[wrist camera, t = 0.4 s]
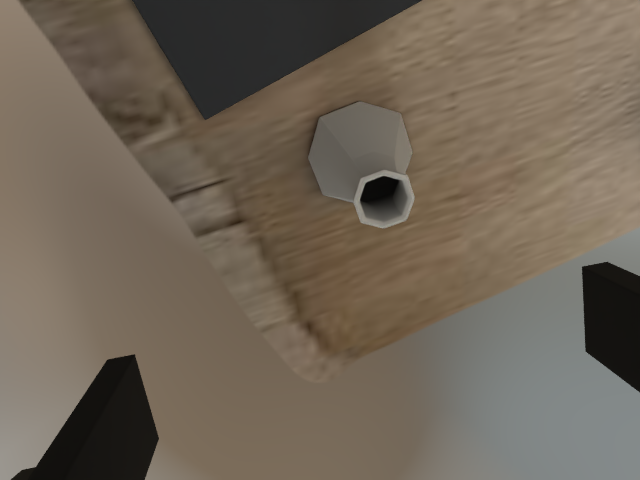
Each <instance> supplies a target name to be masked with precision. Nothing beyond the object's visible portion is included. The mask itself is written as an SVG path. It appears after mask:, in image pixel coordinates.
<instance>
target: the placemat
mask: <svg viewBox="0 0 640 480" xmlns="http://www.w3.org/2000/svg"><path fill="white" fill-rule="evenodd" d="M132 1H133V2H134V4H135V6H136V7H137V9H138V10H139V12H140V14H141V15H142V17H143V19H144V20H145V22H146V24H147V25H148V27H149V29H150V30H151V32H152V34H153V35H154V37H155V39H156V40H157V42H158V43H159V45H160V47H161V48H162V50H163V52H164V53H165V55H166V57H167V58H168V60H169V62H170V63H171V65H172V67H173V68H174V70H175V72H176V73H177V75H178V76H179V78H180V80H181V81H182V83H183V85H184V86H185V88H186V90H187V91H188V93H189V95H190V96H191V98H192V100H193V101H194V103H195V105H196V106H197V108H198V109H199V111H200V113H201V114H202V116H203V118H204V119H205V120H206V119H208V118H210V117H212V116H214V115H215V114H217V113H219V112H221V111H223V110H224V109H226V108H228V107H230V106H232V105H233V104H235V103H237V102H239V101H241V100H243V99H244V98H246V97H248V96H250V95H252V94H253V93H255V92H257V91H259V90H261V89H262V88H264V87H266V86H268V85H270V84H271V83H273V82H275V81H277V80H279V79H280V78H282V77H284V76H286V75H288V74H290V73H291V72H293V71H295V70H297V69H299V68H300V67H302V66H304V65H306V64H308V63H309V62H311V61H313V60H315V59H317V58H318V57H320V56H322V55H324V54H326V53H328V52H329V51H331V50H333V49H335V48H337V47H338V46H340V45H342V44H344V43H346V42H347V41H349V40H351V39H353V38H355V37H356V36H358V35H360V34H362V33H364V32H365V31H367V30H369V29H371V28H373V27H375V26H376V25H378V24H380V23H382V22H384V21H385V20H387V19H389V18H391V17H393V16H394V15H396V14H398V13H400V12H402V11H403V10H405V9H407V8H409V7H411V6H412V5H414V4H416V3H418V2H420V1H422V0H132Z"/></svg>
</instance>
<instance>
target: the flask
mask: <svg viewBox="0 0 640 480" xmlns="http://www.w3.org/2000/svg"><path fill="white" fill-rule="evenodd" d="M412 153H413V151H412V148H411V145H410V142H409V138H408V135H407V132H406V129H405V126H404V122H403V119H402V116H401V113H399V112H395V111H392V110H389V109H385V108H382V107H378V106H375V105H371V104H368V103H365V102H361V101H359V102H357V103H354V104H352V105H349V106H347V107H344V108H341V109H339V110H336V111H334V112H331V113H329V114H326V115H324V116H321V117H320V118H319V121H318V125H317V128H316V132H315V135H314V139H313V142H312V146H311V149H310V153H309V156H308V159H309V161H310V164H311V166H312V169H313V171H314V174H315V177H316V179H317V182H318V184H319V187H320V189H321V192H322V194H323V195H325V196H329V197H333V198H337V199H341V200H344V201H348V202H352V203H354V206H355V208H356V211H357V214H358V216H359V219H360V222H361V223H364V224H368V225H372V226H376V227H379V228H383V229H384V228H387V227H390V226H392V225H395V224H398V223H400V222H403V221H406V220H407V218H408V215H409V212H410V210H411V207H412V204H413V202H414V199H415V197H414V194H413V191H412V188H411V185H410V182H409V178H408V176H407V175H406V174H405V173H406V170H407V167H408V164H409V161H410V159H411V156H412Z"/></svg>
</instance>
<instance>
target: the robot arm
mask: <svg viewBox="0 0 640 480" xmlns="http://www.w3.org/2000/svg"><path fill="white" fill-rule="evenodd" d="M582 275H583V301H584V324H585V348H586V352H587V353H588V354H590V355H591V356H592V357H594V358H595V359H596V360H598V361H599V362H600V363H602V364H603V365H604V366H606V367H607V368H608V369H610V370H611V371H612V372H614V373H615V374H616V375H618V376H619V377H620V378H622V379H623V380H624V381H626V382H627V383H628V384H630V385H631V386H632V387H634V388H635V389H636V390H637V391H639V392H640V276H638V275H636V274H633V273H631V272H629V271H627V270H624V269H622V268H620V267H617V266H615V265H613V264H611V263H608V262H604V263H599V264H594V265H589V266H584V267H582ZM158 440H159V437H158V434H157V431H156V427H155V423H154V420H153V417H152V413H151V409H150V406H149V402H148V399H147V396H146V392H145V388H144V385H143V382H142V378H141V375H140V371H139V368H138V364H137V361H136V358H135V355H129V356H124V357H119V358H114V359H109V360H107V361H106V363H105V364H104V366H103V367H102V369H101V370H100V372H99V373H98V375H97V376H96V378H95V379H94V381H93V382H92V384H91V385H90V387H89V388H88V390H87V391H86V393H85V394H84V396H83V397H82V399H81V400H80V402H79V403H78V405H77V406H76V408H75V409H74V411H73V412H72V414H71V415H70V417H69V418H68V420H67V421H66V423H65V424H64V426H63V427H62V429H61V430H60V432H59V433H58V435H57V436H56V438H55V439H54V441H53V442H52V444H51V445H50V447H49V448H48V450H47V451H46V453H45V454H44V456H43V457H42V459H41V460H40V462H39V463H38V465H37V466H36V467H35V468H30V469H25V470H22V471H20V472H19V473H18V474H17V475H16V476H15V477H13V478H12V479H11V480H145V477H146V474H147V471H148V468H149V466H150V463H151V460H152V457H153V454H154V451H155V448H156V445H157V442H158Z"/></svg>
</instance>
